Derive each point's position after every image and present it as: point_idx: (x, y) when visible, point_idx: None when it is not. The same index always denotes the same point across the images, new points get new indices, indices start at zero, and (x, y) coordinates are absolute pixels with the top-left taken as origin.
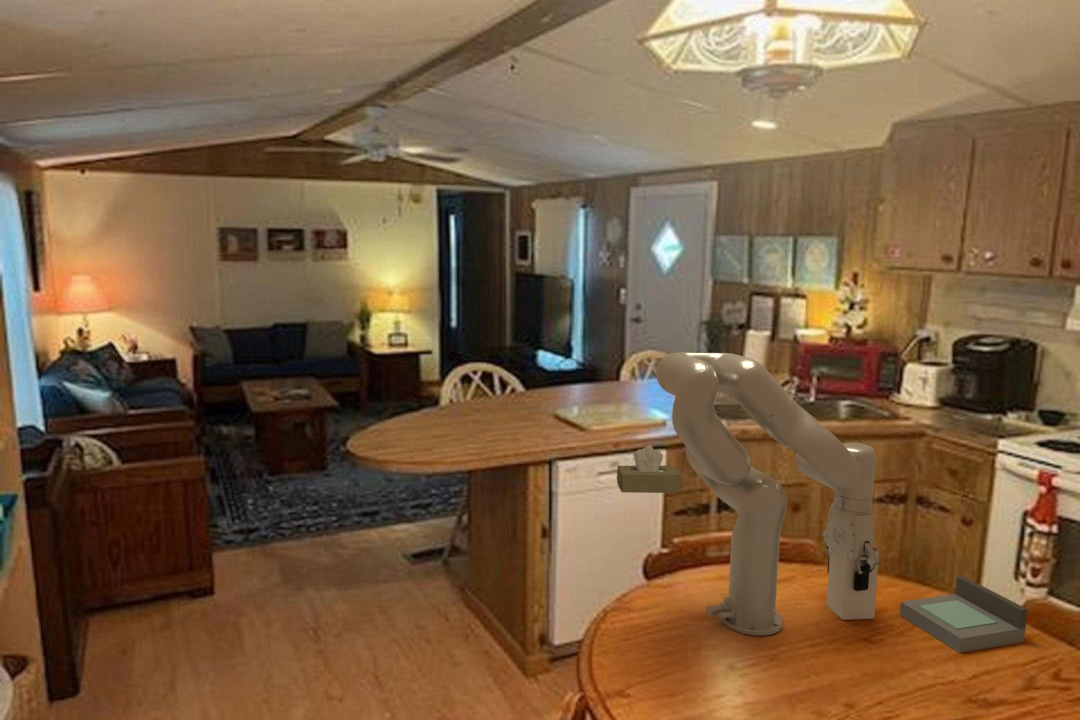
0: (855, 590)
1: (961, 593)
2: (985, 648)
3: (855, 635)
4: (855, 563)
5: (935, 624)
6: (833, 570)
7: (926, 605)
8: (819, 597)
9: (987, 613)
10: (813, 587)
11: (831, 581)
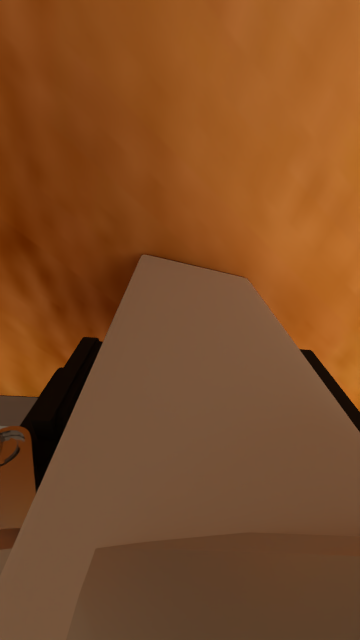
0: (83, 337)
1: None
2: None
3: (48, 225)
4: (25, 508)
5: (13, 423)
6: (260, 362)
7: None
8: (301, 297)
9: None
10: (356, 324)
11: (252, 322)
